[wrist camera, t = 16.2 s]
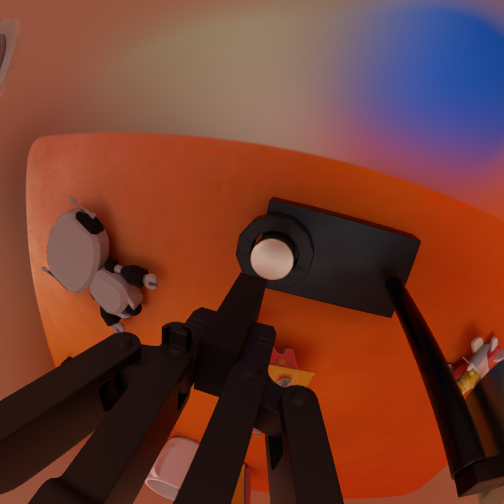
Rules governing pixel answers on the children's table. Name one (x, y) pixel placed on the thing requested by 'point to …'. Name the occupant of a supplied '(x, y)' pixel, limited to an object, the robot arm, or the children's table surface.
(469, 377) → the toy airplane
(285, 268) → the lamp switch
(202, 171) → the children's table surface
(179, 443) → the mug
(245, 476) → the building blocks
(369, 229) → the lamp base
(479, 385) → the lamp
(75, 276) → the robot toy
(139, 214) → the children's table surface
